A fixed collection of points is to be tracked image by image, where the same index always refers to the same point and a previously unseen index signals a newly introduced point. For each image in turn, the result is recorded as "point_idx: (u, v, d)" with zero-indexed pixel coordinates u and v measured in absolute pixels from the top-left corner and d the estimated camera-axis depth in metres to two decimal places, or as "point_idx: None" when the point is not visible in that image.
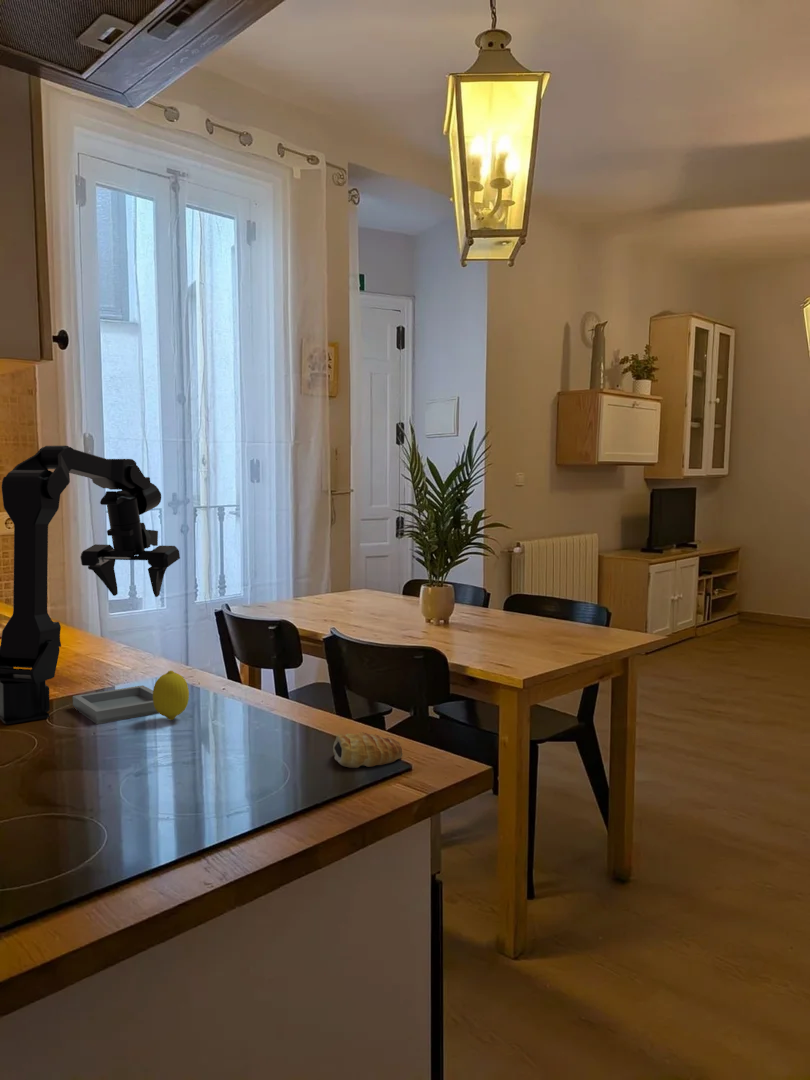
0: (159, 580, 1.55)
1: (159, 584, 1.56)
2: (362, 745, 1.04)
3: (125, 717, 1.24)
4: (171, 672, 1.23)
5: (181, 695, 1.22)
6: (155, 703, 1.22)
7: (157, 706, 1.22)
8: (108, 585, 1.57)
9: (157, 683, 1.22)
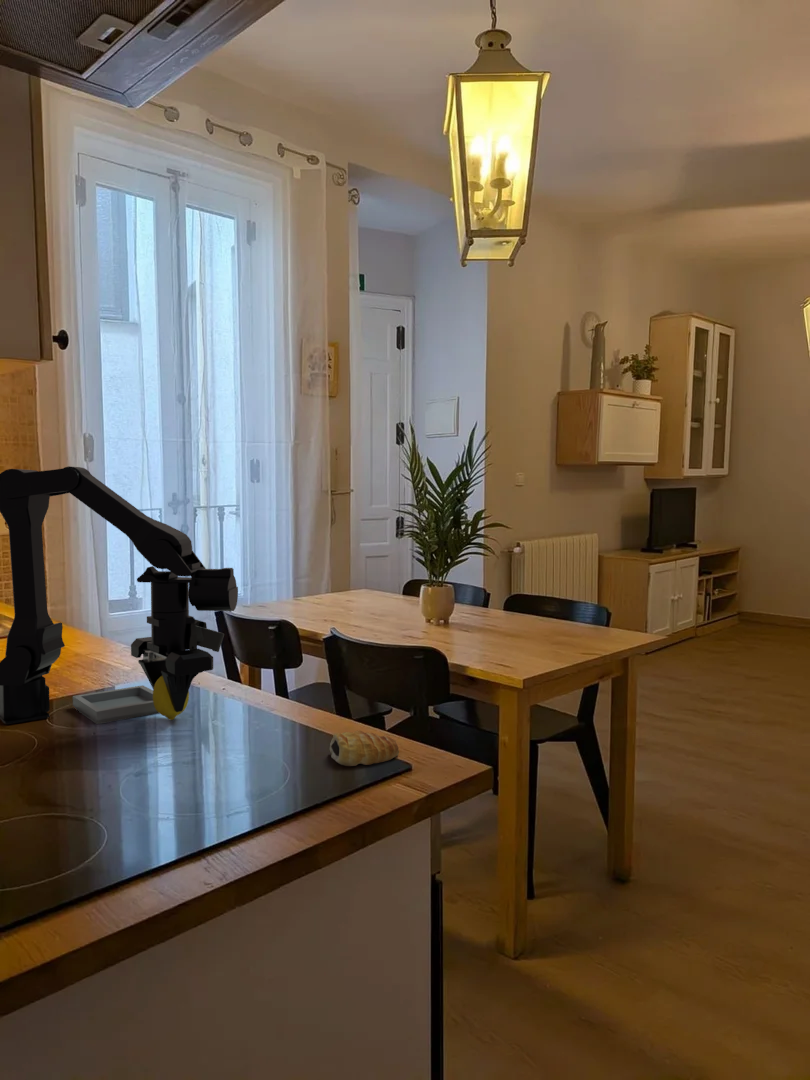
0: (179, 690, 1.20)
1: (180, 696, 1.21)
2: (359, 744, 1.04)
3: (125, 717, 1.24)
4: None
5: None
6: (155, 703, 1.22)
7: (157, 706, 1.22)
8: None
9: (157, 683, 1.22)
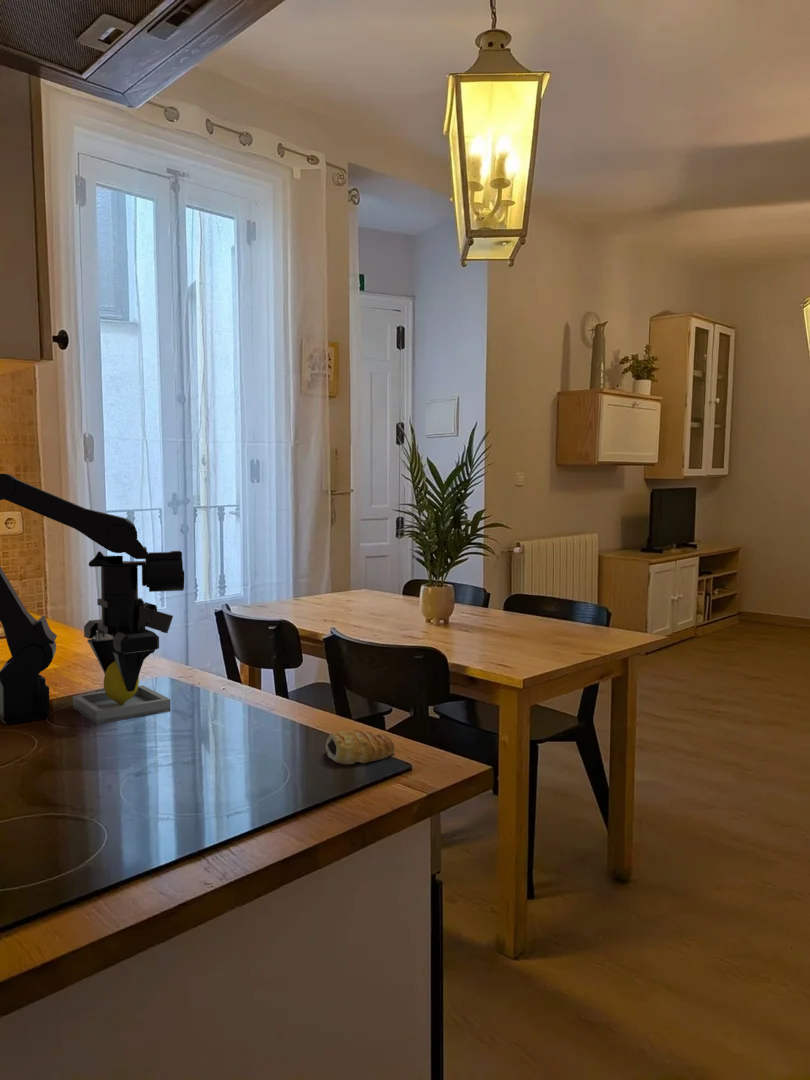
0: (131, 671, 1.25)
1: (131, 676, 1.25)
2: (356, 742, 1.05)
3: (125, 717, 1.24)
4: None
5: None
6: (105, 688, 1.28)
7: (107, 690, 1.28)
8: (101, 666, 1.32)
9: (108, 669, 1.29)
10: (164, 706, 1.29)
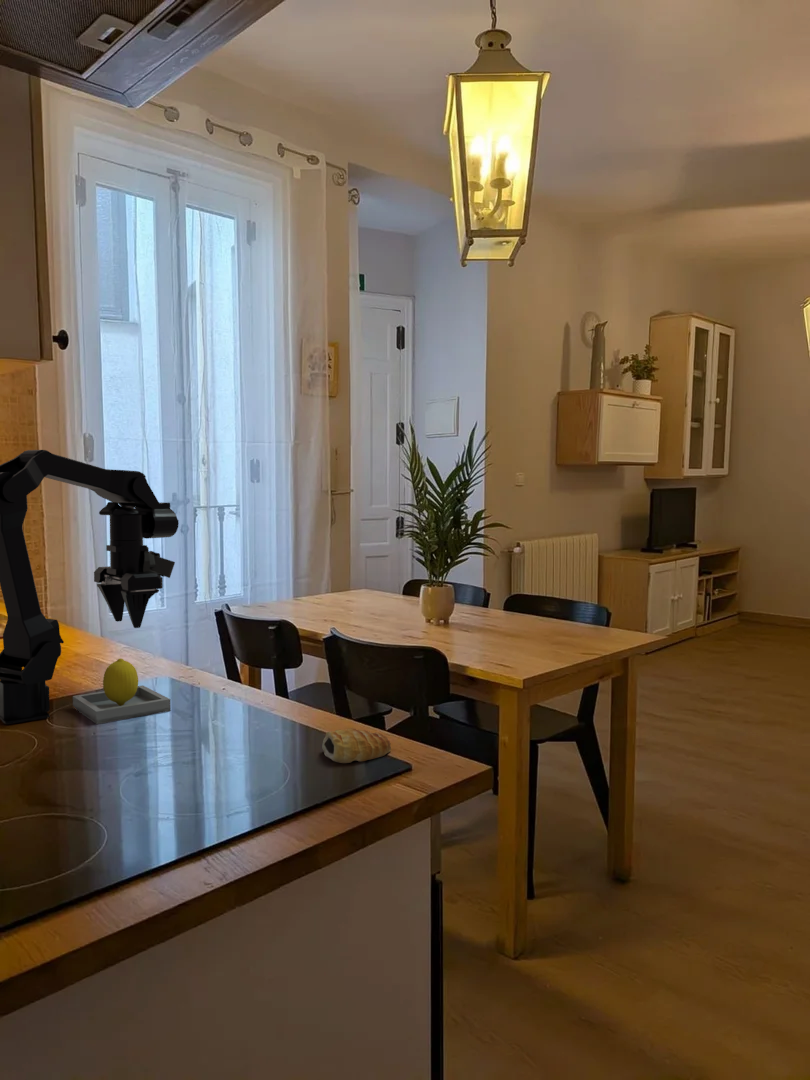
0: (137, 609, 1.38)
1: (138, 614, 1.39)
2: (354, 741, 1.06)
3: (125, 717, 1.24)
4: (121, 660, 1.29)
5: (130, 681, 1.28)
6: (105, 689, 1.28)
7: (107, 692, 1.28)
8: (110, 607, 1.46)
9: (107, 670, 1.28)
10: (164, 706, 1.29)
